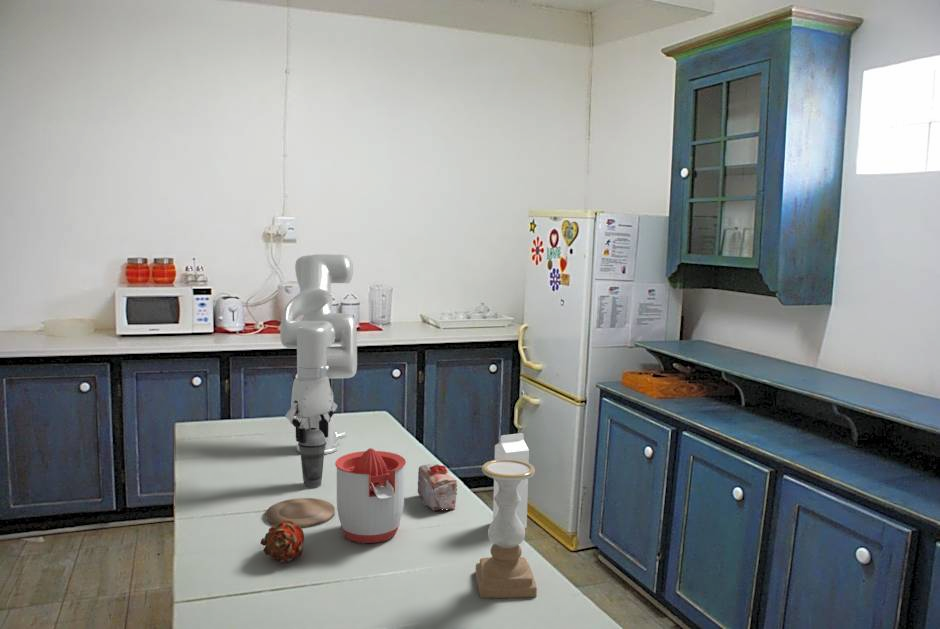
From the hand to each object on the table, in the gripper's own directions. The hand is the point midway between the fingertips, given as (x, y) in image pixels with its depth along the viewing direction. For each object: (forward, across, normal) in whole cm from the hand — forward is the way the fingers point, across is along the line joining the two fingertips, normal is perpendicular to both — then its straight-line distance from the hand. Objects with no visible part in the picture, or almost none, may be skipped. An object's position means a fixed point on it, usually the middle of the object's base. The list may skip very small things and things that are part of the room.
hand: (312, 438), depth 197 cm
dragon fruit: (+13, +30, +30) cm, 44 cm away
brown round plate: (+13, +14, +14) cm, 24 cm away
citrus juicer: (+13, +10, +35) cm, 39 cm away
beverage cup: (+13, 0, 0) cm, 13 cm away
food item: (+13, -14, +32) cm, 37 cm away
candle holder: (+13, +7, +71) cm, 73 cm away
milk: (+13, -16, +54) cm, 58 cm away
